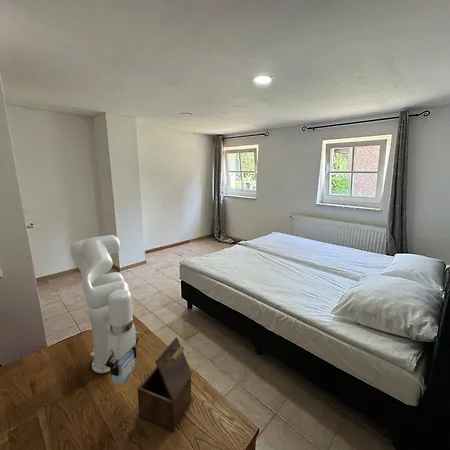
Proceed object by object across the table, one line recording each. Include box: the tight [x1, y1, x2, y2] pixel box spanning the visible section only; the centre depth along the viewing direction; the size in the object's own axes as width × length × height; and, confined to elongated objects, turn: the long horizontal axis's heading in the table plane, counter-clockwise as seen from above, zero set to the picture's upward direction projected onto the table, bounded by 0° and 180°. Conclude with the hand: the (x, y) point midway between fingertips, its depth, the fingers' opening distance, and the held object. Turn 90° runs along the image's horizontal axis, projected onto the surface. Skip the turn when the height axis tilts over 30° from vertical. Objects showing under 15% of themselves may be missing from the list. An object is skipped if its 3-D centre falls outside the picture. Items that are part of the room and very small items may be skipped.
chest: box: [137, 365, 192, 431], centre depth 91 cm, size 15×13×12 cm
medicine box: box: [111, 349, 136, 385], centre depth 91 cm, size 8×4×9 cm, turn 168°
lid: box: [154, 336, 193, 402], centre depth 86 cm, size 15×13×5 cm
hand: (124, 365), depth 91 cm, fingers closed on medicine box, 8 cm apart
